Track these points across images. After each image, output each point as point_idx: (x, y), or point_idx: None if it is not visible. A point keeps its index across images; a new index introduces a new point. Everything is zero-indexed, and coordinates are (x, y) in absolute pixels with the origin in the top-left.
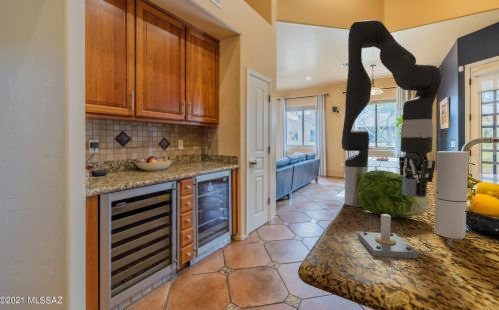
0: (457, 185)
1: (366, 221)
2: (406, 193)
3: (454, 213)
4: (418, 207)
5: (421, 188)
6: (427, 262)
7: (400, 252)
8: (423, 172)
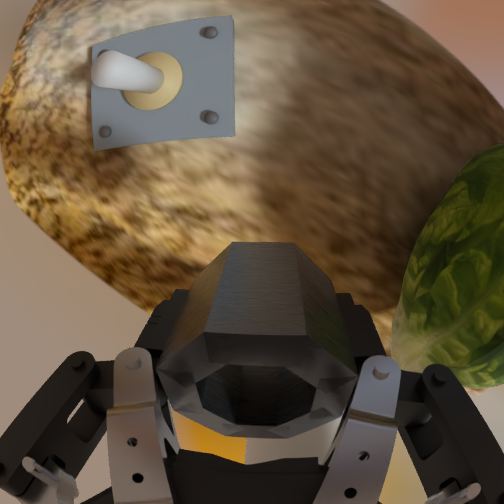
0: (245, 460)
1: (411, 121)
2: (227, 251)
3: None
4: (395, 324)
5: (145, 333)
6: (89, 162)
7: (93, 106)
8: (32, 405)
